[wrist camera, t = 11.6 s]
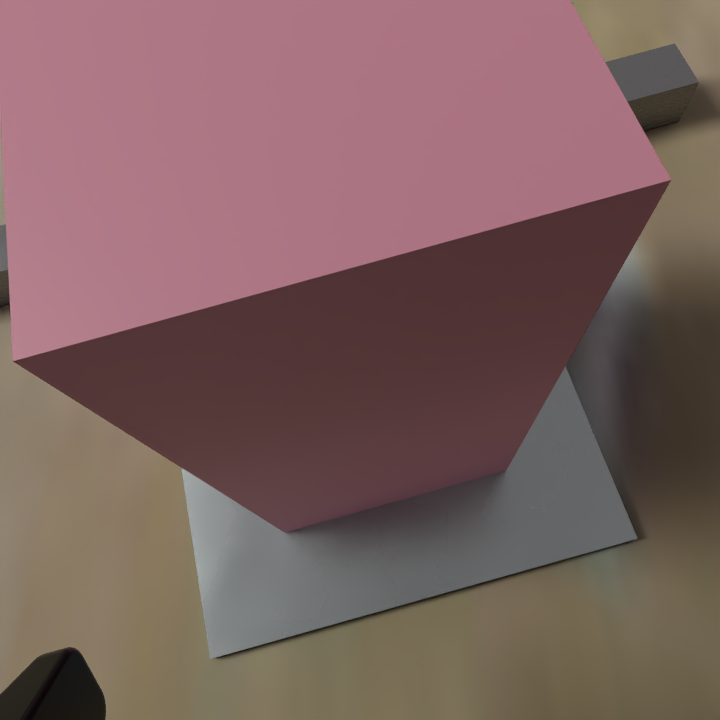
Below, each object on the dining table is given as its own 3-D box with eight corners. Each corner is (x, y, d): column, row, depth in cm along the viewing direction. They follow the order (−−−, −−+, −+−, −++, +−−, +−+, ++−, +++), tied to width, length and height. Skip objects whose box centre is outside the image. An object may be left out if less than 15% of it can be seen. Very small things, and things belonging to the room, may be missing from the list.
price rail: (654, 79, 20) (671, 38, 18) (884, 469, 15) (931, 454, 13) (-48, 270, 19) (-85, 243, 18) (-44, 730, 14) (-94, 743, 13)
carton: (506, 470, 15) (670, 180, 5) (284, 532, 15) (12, 361, 5) (434, 268, 18) (451, -212, 7) (240, 321, 18) (-11, -90, 7)
